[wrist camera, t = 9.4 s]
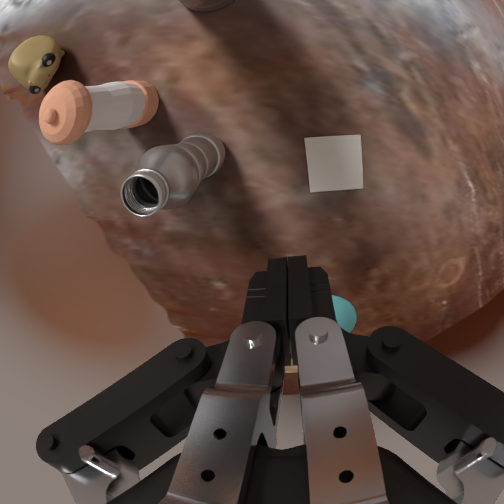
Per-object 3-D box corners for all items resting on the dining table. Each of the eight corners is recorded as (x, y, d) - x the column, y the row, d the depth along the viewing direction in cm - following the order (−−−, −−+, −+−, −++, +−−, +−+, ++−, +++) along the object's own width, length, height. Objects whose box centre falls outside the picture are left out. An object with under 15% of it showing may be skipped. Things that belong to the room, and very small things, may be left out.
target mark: (282, 297, 49) (282, 298, 48) (359, 291, 46) (359, 291, 46) (288, 347, 55) (288, 348, 55) (353, 341, 53) (353, 342, 53)
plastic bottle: (225, 176, 39) (177, 240, 21) (181, 169, 39) (107, 225, 21) (232, 133, 35) (183, 161, 18) (186, 127, 35) (105, 153, 18)
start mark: (304, 137, 35) (304, 138, 34) (360, 134, 33) (360, 134, 33) (310, 192, 38) (310, 192, 38) (362, 188, 37) (363, 188, 37)
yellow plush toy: (58, 100, 33) (16, 107, 24) (31, 73, 29) (-8, 78, 20) (85, 54, 29) (42, 51, 20) (55, 31, 25) (15, 28, 16)
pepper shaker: (135, 135, 36) (47, 167, 20) (110, 104, 34) (18, 121, 17) (168, 103, 34) (83, 112, 17) (141, 71, 31) (50, 65, 14)
